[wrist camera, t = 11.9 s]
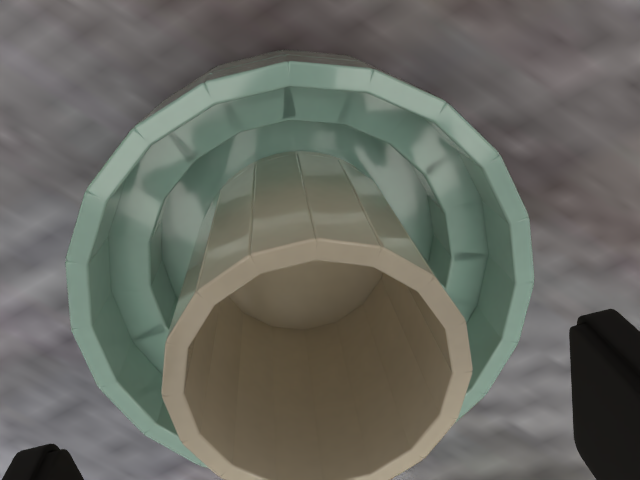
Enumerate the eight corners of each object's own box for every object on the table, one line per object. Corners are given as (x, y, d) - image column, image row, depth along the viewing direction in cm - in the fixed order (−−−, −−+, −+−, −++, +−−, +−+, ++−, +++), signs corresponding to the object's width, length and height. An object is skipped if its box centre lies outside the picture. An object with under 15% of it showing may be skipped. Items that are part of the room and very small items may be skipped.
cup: (174, 178, 19) (115, 287, 11) (377, 128, 19) (450, 205, 11) (232, 349, 21) (215, 527, 14) (410, 306, 21) (486, 461, 14)
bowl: (51, 104, 18) (-22, 136, 13) (449, 7, 18) (513, 5, 13) (181, 419, 23) (160, 521, 19) (491, 343, 23) (547, 427, 19)
